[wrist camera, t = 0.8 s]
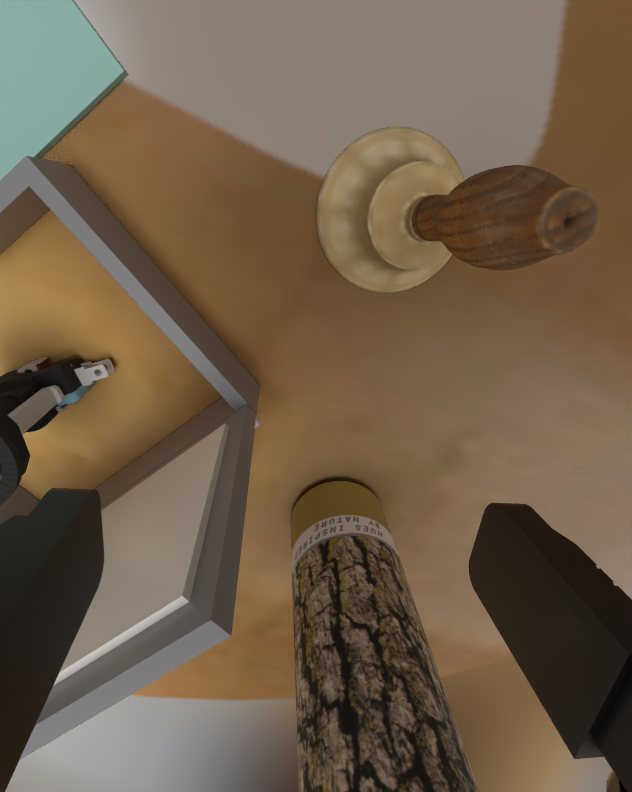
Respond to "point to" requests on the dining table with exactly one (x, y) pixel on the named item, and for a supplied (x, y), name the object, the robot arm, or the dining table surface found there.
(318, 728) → the brown bark-textured cylinder
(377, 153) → the hand bell
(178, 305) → the case
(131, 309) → the dining table surface
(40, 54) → the pad
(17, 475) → the push button
